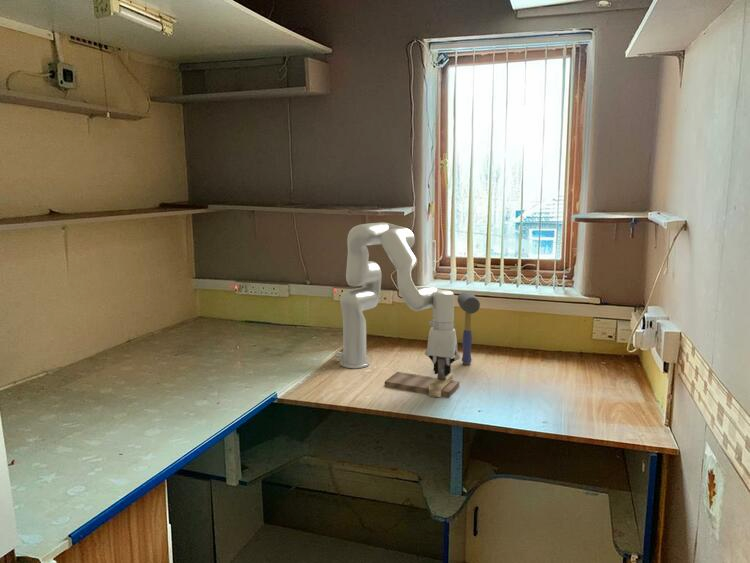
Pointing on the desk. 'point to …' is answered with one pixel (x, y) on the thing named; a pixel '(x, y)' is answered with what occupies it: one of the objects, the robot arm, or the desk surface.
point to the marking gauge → (440, 379)
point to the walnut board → (418, 383)
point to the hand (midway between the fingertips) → (441, 373)
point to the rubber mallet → (468, 322)
